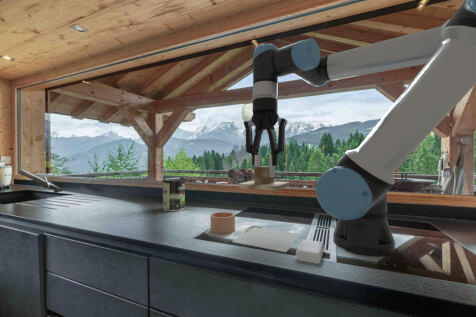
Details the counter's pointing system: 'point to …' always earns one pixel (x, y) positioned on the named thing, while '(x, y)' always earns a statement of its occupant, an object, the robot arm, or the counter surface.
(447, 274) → the counter surface
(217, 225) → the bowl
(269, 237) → the mat
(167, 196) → the coffee can
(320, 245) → the soap
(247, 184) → the lid
